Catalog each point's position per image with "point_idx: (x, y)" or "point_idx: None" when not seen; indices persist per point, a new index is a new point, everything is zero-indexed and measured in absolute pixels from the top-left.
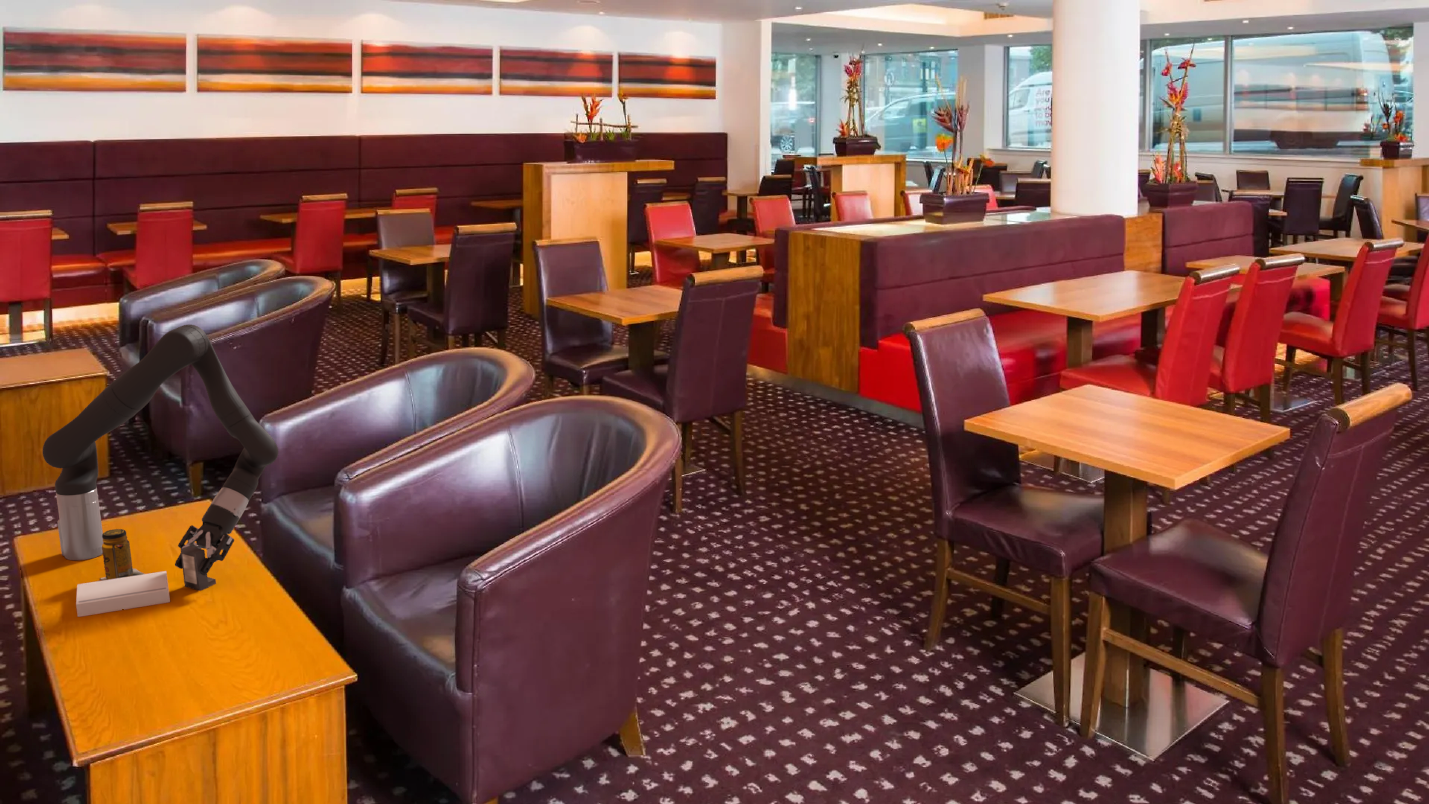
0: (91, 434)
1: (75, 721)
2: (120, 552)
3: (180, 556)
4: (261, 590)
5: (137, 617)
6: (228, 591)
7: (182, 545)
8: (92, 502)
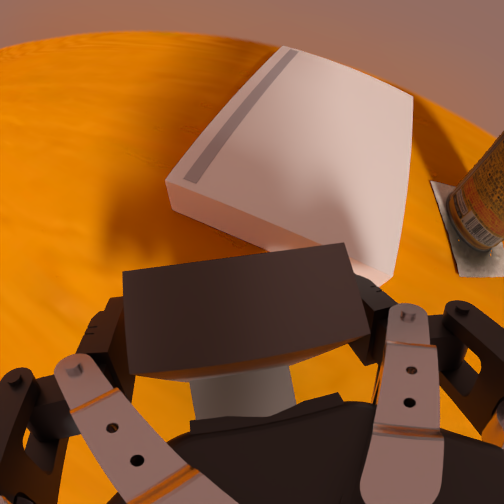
0: None
1: (7, 47)
2: (501, 155)
3: (360, 288)
4: None
5: (155, 118)
6: None
7: (447, 321)
8: None
